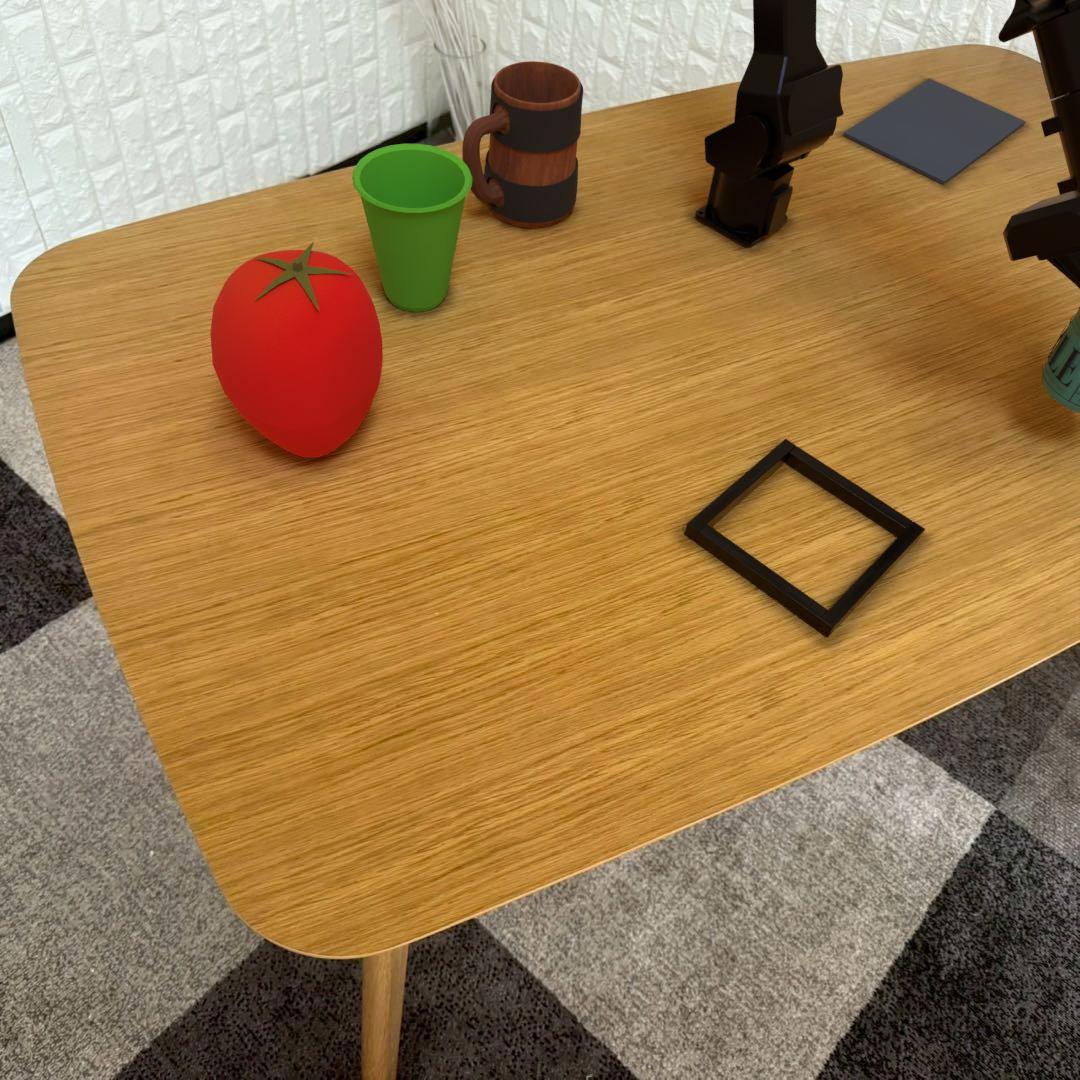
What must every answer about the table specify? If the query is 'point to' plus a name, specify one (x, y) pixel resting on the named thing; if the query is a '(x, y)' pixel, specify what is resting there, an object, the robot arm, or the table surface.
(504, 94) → the mug
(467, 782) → the table surface
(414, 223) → the cup
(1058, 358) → the beverage bottle
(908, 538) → the black square frame
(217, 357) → the tomato
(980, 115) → the table mat
